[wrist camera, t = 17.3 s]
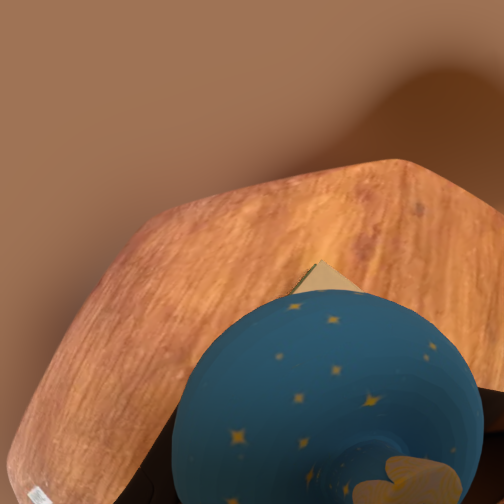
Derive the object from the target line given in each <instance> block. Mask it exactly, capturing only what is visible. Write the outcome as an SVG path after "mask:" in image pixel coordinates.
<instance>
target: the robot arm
mask: <svg viewBox="0 0 504 504" xmlns="http://www.w3.org/2000/svg"><path fill="white" fill-rule="evenodd" d="M477 388H478V391H479V394H480V397H481V401H482V408H483V416H484V433H483V444H482V451H481V456H480V460H479V463H478V467H477V471H476V474H475V476H474V478H473V481H472V483H471V485H470V488H469V490H468V492H467V494H466V495H465V497H464V499H463V500H462V502H461V504H504V392H500V391H495V390H489V389H484V388H479V387H477ZM179 403H180V402H179ZM178 405H179V404H178ZM178 405H177V407H176V408H175V410H174V412H173V413H172V415H171V417H170V418H169V420H168V422H167V423H166V425H165V426H164V428H163V430H162V431H161V433H160V435H159V436H158V438H157V439H156V441H155V443H154V444H153V446H152V448H151V449H150V451H149V452H148V454H147V456H146V457H145V459H144V460H143V462H142V464H141V465H140V467H141V468H138V470H137V471H136V473H135V475H134V476H133V478H132V479H131V481H130V482H129V484H128V485H127V487H126V488H125V489H124V491H123V492H122V493H121V494H120V496H119V497H118V498H117V499H116V501H115V502H114V503H113V504H182V502H181V501H180V499H179V498H178V495H177V492H176V489H175V486H174V479H173V473H172V435H173V429H174V424H175V419H176V414H177V409H178Z"/></svg>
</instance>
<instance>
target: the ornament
mask: <svg viewBox="0 0 504 504" xmlns="http://www.w3.org/2000/svg"><path fill="white" fill-rule="evenodd" d="M483 433H484V416H483V408H482V401H481V397H480V394H479V391H478V388H477V385H476V382H475V379H474V377H473V375H472V373H471V371H470V369H469V367H468V365H467V363H466V362H465V360H464V359H463V357H462V356H461V354H460V353H459V351H458V350H457V348H456V347H455V346H454V345H453V344H452V343H451V342H450V341H449V340H448V339H447V338H446V337H445V336H444V335H443V334H442V333H441V332H440V331H439V330H438V329H437V328H436V327H435V326H434V325H433V324H432V323H430V322H429V321H427V320H426V319H424V318H423V317H422V316H420V315H419V314H417V313H416V312H414V311H412V310H410V309H408V308H406V307H404V306H401V305H399V304H397V303H395V302H392V301H389V300H386V299H383V298H380V297H377V296H374V295H372V294H369V293H363V292H356V291H350V290H336V289H328V290H314V291H308V292H302V293H296V294H291V295H288V296H285V297H281V298H278V299H275V300H273V301H271V302H269V303H267V304H264V305H262V306H260V307H258V308H257V309H255V310H253V311H252V312H250V313H248V314H247V315H245V316H243V317H242V318H241V319H239V320H238V321H237V322H235V323H234V324H233V325H231V326H230V327H229V328H228V329H227V330H225V331H224V332H223V333H222V334H221V335H220V336H219V337H218V338H217V339H216V340H215V341H214V342H213V343H212V344H211V346H210V347H209V348H208V349H207V350H206V351H205V353H204V354H203V355H202V357H201V359H200V360H199V362H198V363H197V365H196V367H195V368H194V370H193V371H192V373H191V375H190V377H189V379H188V382H187V384H186V387H185V390H184V392H183V395H182V397H181V400H180V403H179V405H178V409H177V414H176V419H175V424H174V429H173V435H172V473H173V479H174V486H175V489H176V492H177V495H178V498H179V499H180V501H181V502H182V504H461V502H462V500H463V499H464V497H465V495H466V494H467V492H468V490H469V488H470V485H471V483H472V481H473V478H474V476H475V474H476V471H477V467H478V463H479V460H480V456H481V451H482V444H483Z"/></svg>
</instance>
